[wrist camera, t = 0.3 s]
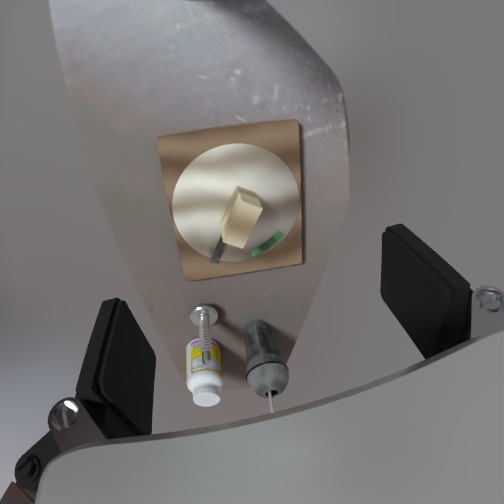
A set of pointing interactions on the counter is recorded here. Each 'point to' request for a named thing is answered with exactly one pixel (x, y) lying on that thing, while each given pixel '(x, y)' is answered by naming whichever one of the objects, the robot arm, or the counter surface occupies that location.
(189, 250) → the square board with disc
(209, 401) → the supplement bottle
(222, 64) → the counter surface
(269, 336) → the beverage cup
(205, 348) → the screw
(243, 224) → the beige block with rod
